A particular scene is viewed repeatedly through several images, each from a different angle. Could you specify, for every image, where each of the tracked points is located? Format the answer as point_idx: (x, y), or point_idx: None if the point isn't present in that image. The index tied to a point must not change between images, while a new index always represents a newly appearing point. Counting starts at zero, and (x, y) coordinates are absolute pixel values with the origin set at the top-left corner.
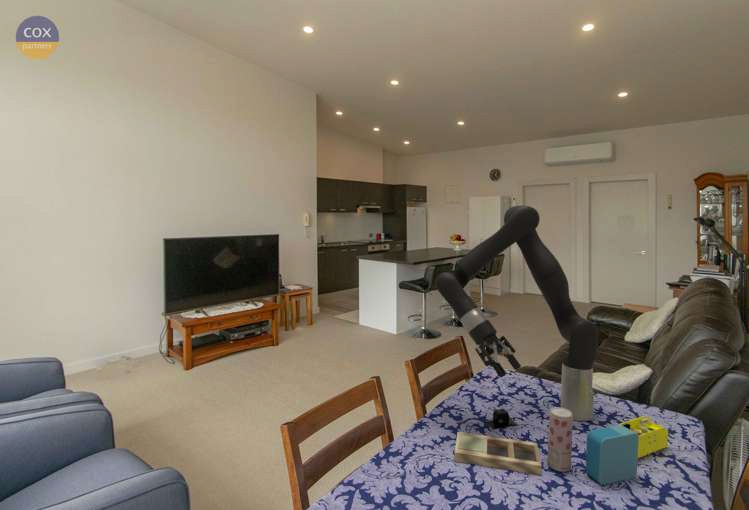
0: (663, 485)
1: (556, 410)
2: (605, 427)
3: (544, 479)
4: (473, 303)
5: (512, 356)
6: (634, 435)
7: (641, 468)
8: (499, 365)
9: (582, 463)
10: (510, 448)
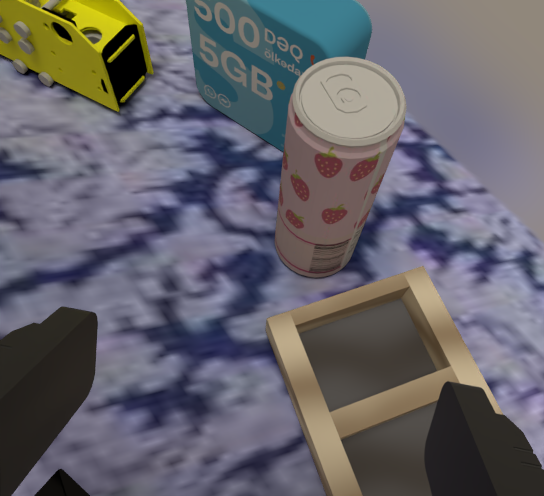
0: None
1: (339, 119)
2: (257, 6)
3: (427, 267)
4: None
5: (3, 399)
6: None
7: (172, 59)
8: (526, 476)
9: (246, 185)
10: (387, 405)
